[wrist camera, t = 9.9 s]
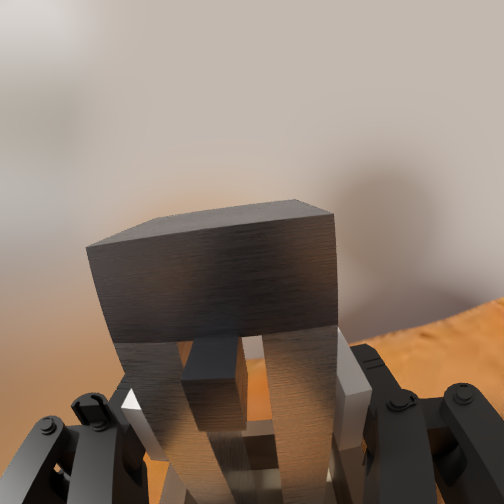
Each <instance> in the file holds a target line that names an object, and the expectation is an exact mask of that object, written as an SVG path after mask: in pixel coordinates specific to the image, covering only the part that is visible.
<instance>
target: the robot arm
mask: <svg viewBox="0 0 504 504" xmlns="http://www.w3.org/2000/svg"><path fill="white" fill-rule="evenodd" d="M71 408H72V409H73V411H74V412H75V414H76V416H77V417H78V419H79V420H80V422H81V424H82V425H75V426H65V424H64V423H63V421H62V420H61V419H60V418H59V417H57V416H47V417H44V418H42V419H40V420H39V421H38V422H37V423H36V424H35V425H34V427H33V428H32V430H31V431H30V433H29V434H28V436H27V437H26V439H25V440H24V442H23V443H22V445H21V446H20V448H19V449H18V451H17V453H16V454H15V456H14V457H13V459H12V461H11V462H10V464H9V465H8V467H7V469H6V470H5V472H4V473H3V475H2V477H1V479H0V504H149V495H148V479H147V467H146V463H145V462H144V460H143V457H144V454H145V451H146V452H147V454H148V455H149V457H150V458H151V460H158V461H168V462H170V461H169V460H168V458H167V456H166V455H165V453H164V451H163V449H162V448H161V446H160V444H159V442H158V441H157V439H156V437H155V435H154V433H153V431H152V430H151V428H150V426H149V424H148V422H147V420H146V418H145V416H144V414H143V412H142V410H141V408H140V406H139V404H138V402H137V399H136V397H135V395H134V393H133V391H132V388H131V386H130V384H129V382H128V379H127V377H126V375H124V377H123V378H122V380H121V383H119V385H118V387H117V390H115V392H114V393H113V395H112V397H111V398H110V400H109V402H108V400H107V399H106V397H105V396H104V395H102V394H100V393H88V394H84V395H82V396H80V397H78V398H77V399H76V400H75V401H74V402H73V403H72V405H71ZM333 432H334V436H335V439H336V443H337V446H338V450H339V451H341V450H346V449H350V448H354V447H358V446H361V444H362V439H363V437H364V440H365V443H366V445H367V449H366V453H365V456H364V460H363V463H362V466H365V473H364V491H363V504H437V494H436V485H435V481H436V483H437V485H438V488H439V490H440V492H441V495H442V497H443V499H444V502H445V504H504V421H503V419H502V418H501V417H500V415H499V414H498V413H497V412H496V410H495V409H494V408H493V407H492V405H491V404H490V403H489V402H488V400H487V399H486V398H485V397H484V395H483V394H482V393H481V392H480V391H479V390H478V389H477V388H476V387H475V386H473V385H471V384H468V383H457V384H453V385H451V386H450V387H448V388H447V390H446V391H445V393H444V396H443V397H438V398H428V399H420V398H418V396H417V395H416V394H414V393H413V392H412V391H409V390H406V389H401V387H400V386H399V384H398V383H397V381H396V380H395V378H394V376H393V375H392V373H391V372H390V370H389V369H388V367H387V366H385V363H384V361H383V360H382V359H381V357H380V356H379V354H378V353H377V351H376V350H375V349H374V348H372V347H371V346H369V345H367V344H361V345H357V346H352V347H349V346H348V344H347V342H346V340H345V338H344V337H343V335H342V333H341V331H340V330H339V328H338V353H337V379H336V396H335V410H334V422H333ZM56 463H57V464H58V466H59V467H60V468H61V469H60V471H59V472H56V471H55V470H54V467H55V465H56Z"/></svg>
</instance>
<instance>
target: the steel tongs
mask: <svg viewBox="0 0 504 504" xmlns="http://www.w3.org/2000/svg"><path fill="white" fill-rule="evenodd" d="M86 251H87V256H88V260H89V264H90V268H91V272H92V276H93V280H94V284H95V287H96V291H97V295H98V298H99V301H100V305H101V308H102V311H103V315H104V317H105V320H106V324H107V327H108V330H109V332H110V336H111V338H112V341H113V344H114V346H115V349H116V352H117V355H118V357H119V360H120V362H121V365H122V367H123V370H124V372H125V375H126V377H127V379H128V382H129V384H130V386H131V388H132V391H133V393H134V395H135V397H136V399H137V402H138V404H139V406H140V408H141V410H142V412H143V414H144V416H145V418H146V420H147V422H148V424H149V426H150V428H151V430H152V431H153V433H154V435H155V437H156V439H157V441H158V442H159V444H160V446H161V448H162V449H163V451H164V453H165V455H166V456H167V458H168V460H169V461H170V463H171V465H172V466H173V468H174V469H175V471H176V473H177V474H178V476H179V477H180V479H181V480H182V482H183V483H184V485H185V486H186V488H187V489H188V491H189V492H190V493H191V495H192V496H193V498H194V499H195V500H196V502H197V503H198V504H257V487H256V484H255V480H254V477H253V473H252V470H251V466H250V462H249V459H248V455H247V451H246V447H245V444H244V440H243V436H242V432H241V431H244V430H247V386H248V373H247V367H246V361H245V355H244V350H243V344H242V338H241V337H249V336H258V335H262V341H263V349H264V356H265V364H266V372H267V380H268V387H269V395H270V403H271V410H272V418H273V426H274V433H275V441H276V449H277V457H278V464H279V472H280V479H281V487H282V495H283V502H284V504H323V499H324V493H325V487H326V481H327V474H328V467H329V459H330V451H331V442H332V433H333V422H334V410H335V396H336V379H337V353H338V286H337V285H338V283H337V256H336V237H335V223H334V214H333V213H330V212H328V211H325V210H323V209H320V208H317V207H315V206H312V205H309V204H307V203H304V202H301V201H299V200H296V199H293V200H284V201H275V202H267V203H258V204H250V205H242V206H234V207H227V208H219V209H212V210H205V211H199V212H191V213H185V214H178V215H172V216H166V217H159V218H155V219H152V220H150V221H147V222H145V223H142V224H140V225H137V226H135V227H132V228H130V229H127V230H125V231H122V232H120V233H117V234H115V235H113V236H110V237H108V238H106V239H103V240H101V241H99V242H97V243H94V244H92V245H90V246H88V247H86Z"/></svg>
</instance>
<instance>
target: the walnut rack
mask: <svg viewBox="0 0 504 504" xmlns="http://www.w3.org/2000/svg"><path fill="white" fill-rule="evenodd" d="M241 432H242V436H243V440H244V444H245V447H246V451H247V455H248V459H249V462H250V466H251V470H252V473H253V477H254V480H255V484H256V487H257V504H284V502H283V495H282V487H281V479H280V472H279V464H278V457H277V449H276V441H275V433H274V426H273V419H271V420H261V421H248V422H247V430H244V431H241ZM364 456H365V455H364V452H363V450H362V447H361V446H358V447H354V448H350V449H346V450H341V451H339V450H338V446H337V443H336V439H335V436H334V432H333V433H332V442H331V451H330V459H329V467H328V474H327V481H326V487H325V493H324V499H323V504H363V491H364V473H365V466H362V463H363V460H364ZM159 504H198V503H197V502H196V500H195V499H194V498H193V496H192V495H191V493H190V492H189V491H188V489H187V488H186V486H185V485H184V483H183V482H182V480H181V479H180V477H179V476H178V474H177V473H176V471H175V469H174V468H173V466H172V465H171V463H169V467H168V471H167V475H166V479H165V483H164V487H163V491H162V495H161V499H160V503H159Z"/></svg>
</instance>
